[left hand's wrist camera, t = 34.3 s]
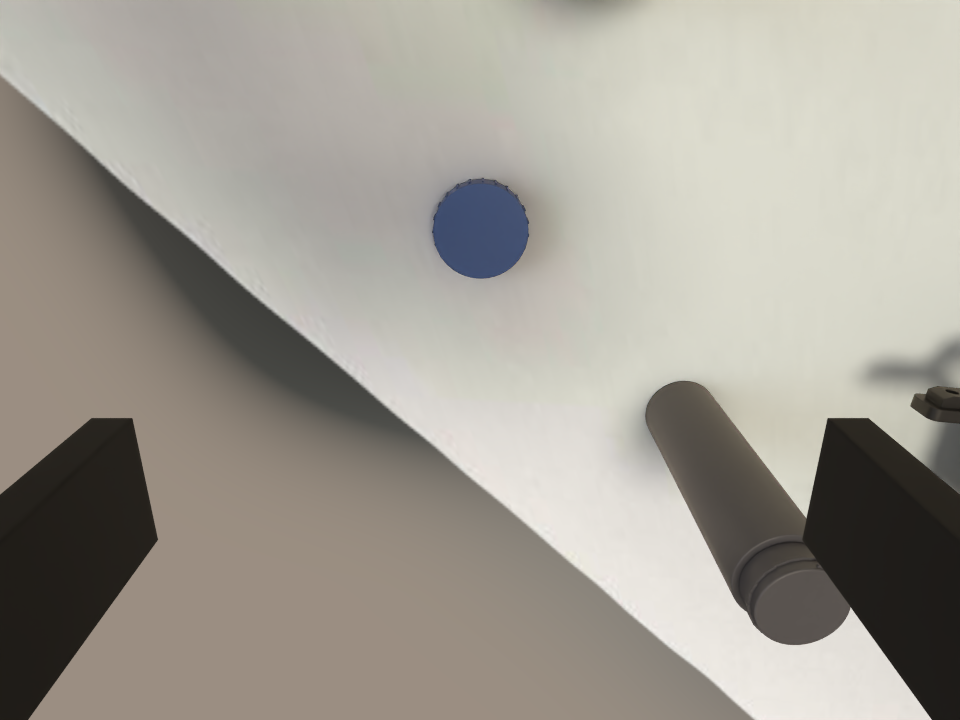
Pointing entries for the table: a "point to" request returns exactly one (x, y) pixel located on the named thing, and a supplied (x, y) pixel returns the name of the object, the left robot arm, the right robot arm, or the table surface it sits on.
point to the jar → (744, 518)
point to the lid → (480, 228)
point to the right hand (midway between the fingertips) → (895, 473)
